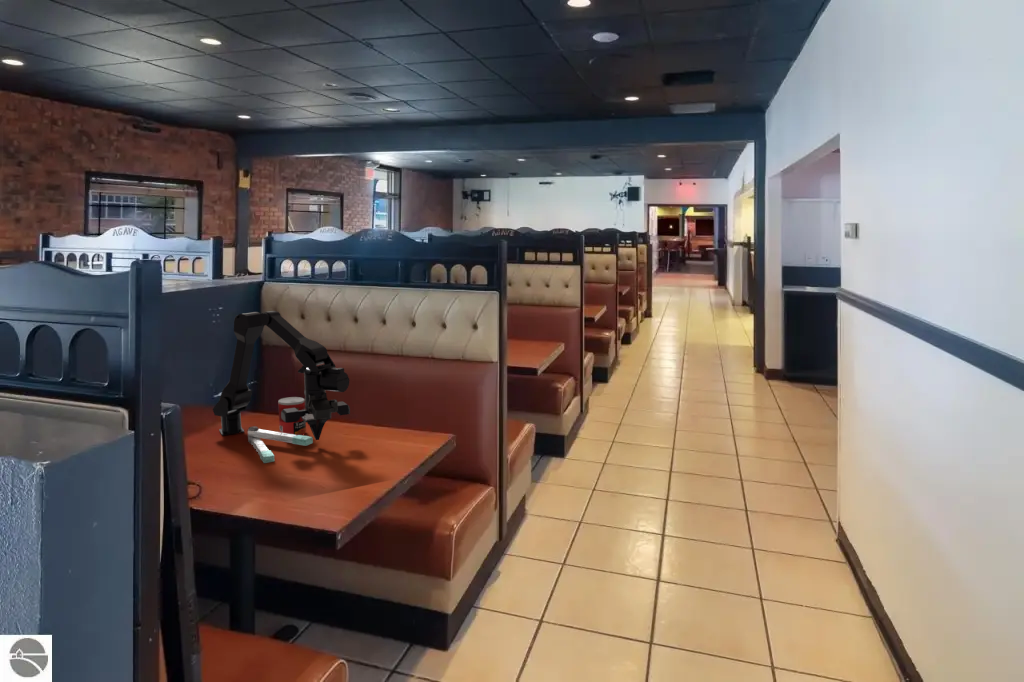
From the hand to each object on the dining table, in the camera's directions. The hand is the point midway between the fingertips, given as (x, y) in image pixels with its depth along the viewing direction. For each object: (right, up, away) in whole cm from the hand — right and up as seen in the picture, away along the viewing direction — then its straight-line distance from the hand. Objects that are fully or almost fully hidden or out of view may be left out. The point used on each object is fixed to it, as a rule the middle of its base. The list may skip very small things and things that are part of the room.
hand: (317, 439), depth 189 cm
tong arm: (-11, 0, 0) cm, 11 cm away
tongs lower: (-15, -2, -4) cm, 16 cm away
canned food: (-11, 0, +12) cm, 16 cm away
